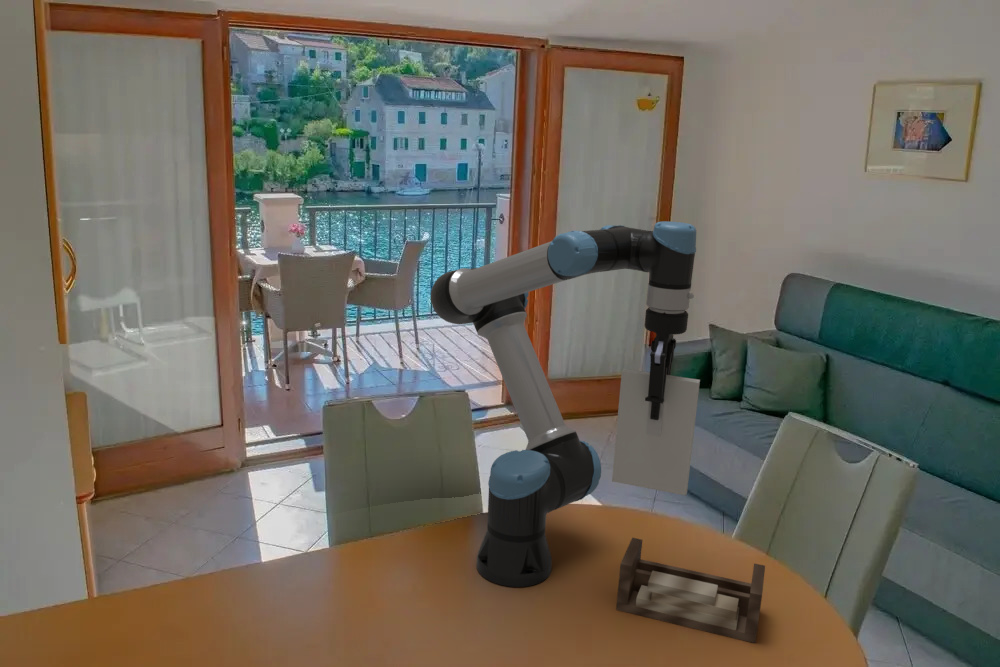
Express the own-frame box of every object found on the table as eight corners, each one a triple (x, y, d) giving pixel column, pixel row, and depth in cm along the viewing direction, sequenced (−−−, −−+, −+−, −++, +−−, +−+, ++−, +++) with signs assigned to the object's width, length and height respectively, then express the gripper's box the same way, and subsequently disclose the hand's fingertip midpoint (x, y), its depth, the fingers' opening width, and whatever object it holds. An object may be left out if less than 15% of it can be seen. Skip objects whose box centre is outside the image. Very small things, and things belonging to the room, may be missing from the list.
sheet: (611, 481, 157) (621, 371, 152) (614, 477, 159) (624, 368, 153) (685, 495, 152) (698, 382, 147) (687, 491, 154) (700, 379, 149)
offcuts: (635, 606, 152) (638, 580, 150) (640, 593, 156) (643, 567, 155) (736, 630, 146) (739, 603, 144) (738, 616, 150) (741, 589, 149)
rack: (616, 609, 153) (620, 563, 151) (628, 580, 163) (632, 537, 161) (755, 643, 145) (762, 595, 142) (758, 610, 155) (765, 565, 153)
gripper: (682, 319, 139) (668, 449, 145) (694, 304, 153) (680, 423, 159) (638, 314, 141) (626, 442, 147) (653, 299, 155) (642, 416, 161)
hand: (654, 432), depth 153 cm, fingers closed on sheet, 2 cm apart
